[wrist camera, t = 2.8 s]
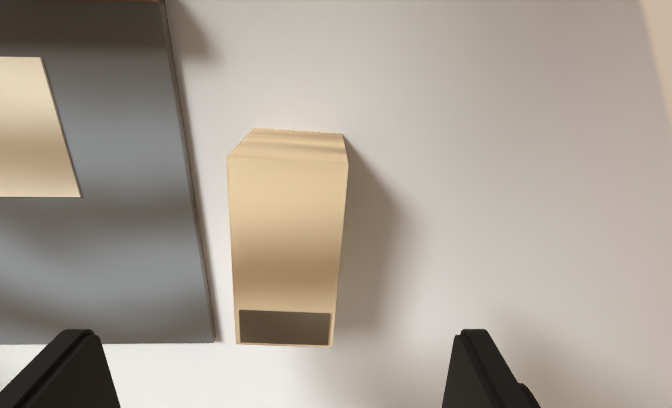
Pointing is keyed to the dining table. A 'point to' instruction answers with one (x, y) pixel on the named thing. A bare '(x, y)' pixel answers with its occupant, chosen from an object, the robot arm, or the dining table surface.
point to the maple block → (286, 235)
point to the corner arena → (95, 178)
